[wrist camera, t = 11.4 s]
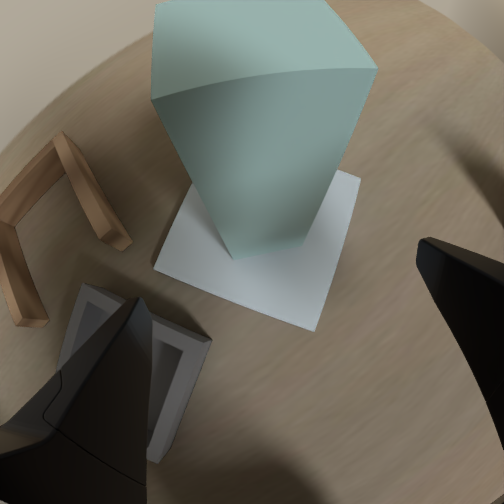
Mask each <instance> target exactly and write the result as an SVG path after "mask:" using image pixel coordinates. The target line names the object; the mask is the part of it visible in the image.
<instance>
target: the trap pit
mask: <svg viewBox="0 0 504 504" xmlns="http://www.w3.org/2000/svg"><path fill="white" fill-rule="evenodd" d="M125 301H126V300H125V299H123V298H121V297H119V296H117V295H116V294H114V293H112V292H110V291H108V290H106V289H104V288H102V287H97V286H93V285H89V284H86V283H82V285H81V288H80V291H79V294H78V296H77V299H76V302H75V305H74V308H73V311H72V314H71V318H70V321H69V324H68V327H67V331H66V334H65V338H64V341H63V345H62V348H61V352H60V356H59V360H58V364H57V368H56V372H57V371H58V370H59V369H61V367H62V366H63V365H64V364H65V363H66V362H67V361H68V359H69V358H70V357H71V356H72V355H73V354H74V353H75V352H76V351H77V350H78V349H79V348H80V347H81V346H82V345H83V344H84V343H85V342H86V341H87V340H88V339H89V337H90V336H91V335H92V334H93V333H94V332H95V331H96V330H97V329H98V328H99V327H100V326H101V325H102V324H103V323H104V322H105V321H106V320H107V319H108V318H109V317H110V316H111V315H112V314H113V313H114V312H115V311H116V310H117V309H118V308H119V307H120V306H121V305H122V304H123V303H124V302H125ZM149 313H150V315H151V317H152V322H153V334H152V352H153V361H152V376H151V387H150V399H149V414H148V431H147V459H148V460H150V461H152V462H154V463H156V464H158V463H159V462H160V460H161V459H162V458H163V457H164V456H165V454H166V453H167V452H168V451H169V449H170V448H171V445H172V443H173V440H174V438H175V435H176V432H177V430H178V427H179V425H180V422H181V419H182V417H183V414H184V412H185V409H186V406H187V404H188V401H189V399H190V396H191V394H192V391H193V388H194V386H195V383H196V381H197V378H198V376H199V373H200V370H201V368H202V365H203V363H204V360H205V358H206V355H207V352H208V350H209V347H210V345H211V342H212V339H209V338H207V337H204V336H202V335H200V334H197V333H195V332H193V331H191V330H188V329H186V328H184V327H182V326H179V325H177V324H175V323H173V322H170V321H168V320H166V319H164V318H162V317H160V316H158V315H156V314H153V313H151V312H149Z"/></svg>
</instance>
